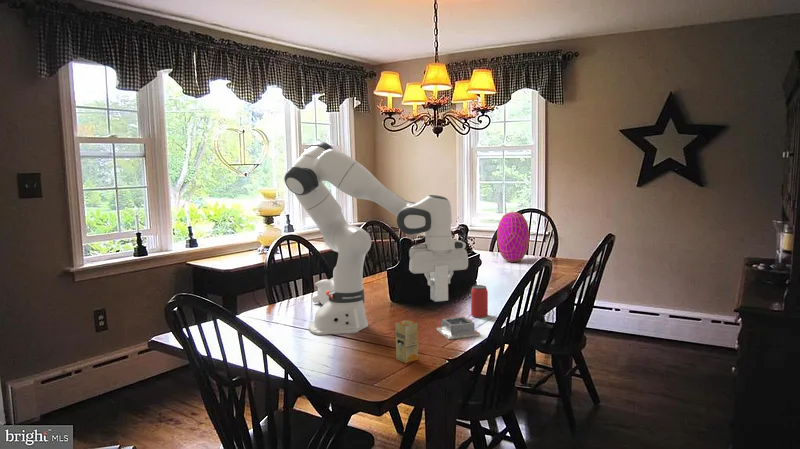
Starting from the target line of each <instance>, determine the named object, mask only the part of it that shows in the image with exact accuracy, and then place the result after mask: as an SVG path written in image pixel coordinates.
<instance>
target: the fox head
mask: <svg viewBox="0 0 800 449" xmlns="http://www.w3.org/2000/svg"><path fill="white" fill-rule="evenodd" d="M314 285H315V287H317V290H316V293H315V294H314V295H313V296H312V297H311V301H312V303H314V304H315V303H318V304H320V303H321V305H322V306H323V305H324V304H326V303H327V302H328V301H329V296H327V295H326V292H327V290H329V291H333V290H334V282H333V277H331V278H330V279H320V280H318V281H317V282H315V283H314Z"/></svg>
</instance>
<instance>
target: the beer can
mask: <svg viewBox="0 0 800 449" xmlns="http://www.w3.org/2000/svg"><path fill="white" fill-rule="evenodd" d="M488 293H489V292H488V289H487V286H486V285H482V284H477V285H472V287H471V292H470V295H471V296H470V309H471V310H470V315H471V316H472V317H474V318H478V319H482V318H487V317H488V314H489V312H488V308H489V307H488V306H489V302H488V301H489V299H488V296H489V295H488Z"/></svg>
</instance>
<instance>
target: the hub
mask: <svg viewBox="0 0 800 449" xmlns="http://www.w3.org/2000/svg"><path fill="white" fill-rule="evenodd" d="M436 331H437V332H438V331H439V333H440V334H441V335H442V336H444V337H445V338H446V339H448V340H456V339H464V338H472V337H479V336H481V333H480V332H479V331H477V330H476V329H475V322H473V320H472V319H470V318H467V317H465V316H458V317H450V318H443V319H441V327H436Z"/></svg>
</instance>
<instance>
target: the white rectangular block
mask: <svg viewBox="0 0 800 449" xmlns="http://www.w3.org/2000/svg"><path fill="white" fill-rule="evenodd" d="M448 274H449V273H448V265H438V266H434V272H430V276H429V277H430V279H432V280H433V283H434V285H431V286H430V287H429V288H430V296H429V297H430V300H432V301H433V302H435V303H436V302H445V301H449V284H448Z"/></svg>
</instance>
